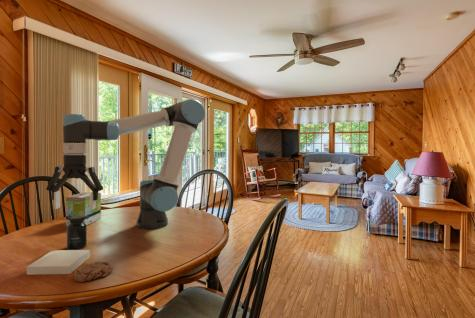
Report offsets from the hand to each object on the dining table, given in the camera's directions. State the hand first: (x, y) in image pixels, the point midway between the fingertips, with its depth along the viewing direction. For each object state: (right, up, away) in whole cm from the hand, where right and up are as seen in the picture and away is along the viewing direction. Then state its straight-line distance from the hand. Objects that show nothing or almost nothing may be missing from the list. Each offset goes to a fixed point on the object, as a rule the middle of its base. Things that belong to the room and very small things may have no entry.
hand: (75, 208), depth 106 cm
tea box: (-16, -14, +34) cm, 40 cm away
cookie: (+18, -17, -21) cm, 33 cm away
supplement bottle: (0, -16, +1) cm, 16 cm away
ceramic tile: (+4, -16, -15) cm, 22 cm away
